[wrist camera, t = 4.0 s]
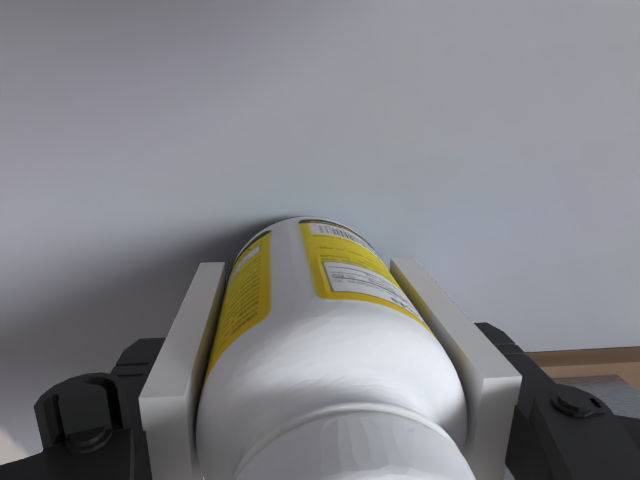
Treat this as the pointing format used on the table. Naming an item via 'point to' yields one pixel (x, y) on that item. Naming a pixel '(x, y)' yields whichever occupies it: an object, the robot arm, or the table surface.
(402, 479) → the supplement bottle
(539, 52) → the table surface
